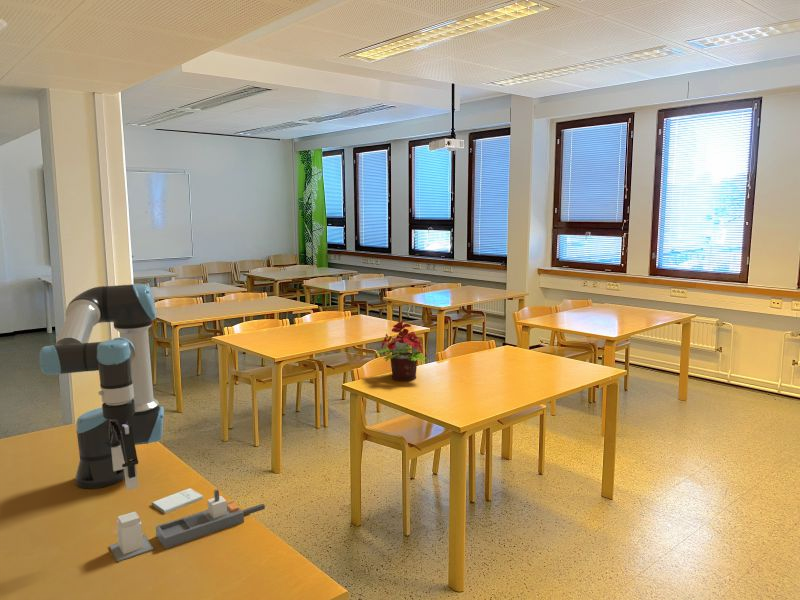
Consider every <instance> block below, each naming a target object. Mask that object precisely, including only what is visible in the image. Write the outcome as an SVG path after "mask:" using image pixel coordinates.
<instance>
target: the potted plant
mask: <svg viewBox="0 0 800 600" xmlns="http://www.w3.org/2000/svg"><path fill="white" fill-rule="evenodd" d="M392 327H393V328H392V329H391V332H393V333H398V334H397V335H396V336H395V338H393V337H392V336H391V335H390V336H389V335H388V333H387V332H386V334H385V337H384V339H383V341H381V348H382V350H377V351H376V352H374V353H373V355H375V356H376V355H379V356H381V355H382V354H383V355H385V354H386V353H387V355H386V356H385V357H384V359H383V360H385V362H387V361H388V360H389V359H390V366H391V379H392V380H393V381H395V382H411V381H415V380H416V379H417V366H418V362H419V363H420V362H422V363H423V364H427V363H426V361H425V360H426V359H428V358H427V357H425V355H424V354H423V344H422V342H421V340H420V339H419V337H418V336H417V335H416V334H415V332H414V331H410V332H409V329H408V328H410V327H412V325H411V324H410V323H404V321H398V322H397V323H396V324H393V326H392ZM392 338H393V339H392ZM397 342H398V343H400V344H403V345H404V346H403V348H398V347H397V345H396V343H397ZM385 344H386V348H384V345H385ZM383 348H384V349H383ZM394 349H395V350H394ZM416 349H417V350H418V351H419V352H418V351H415V350H416ZM393 351H394V352H393ZM420 351H421V352H420ZM391 353H393V354H391Z"/></svg>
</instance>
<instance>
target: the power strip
mask: <svg viewBox="0 0 800 600" xmlns="http://www.w3.org/2000/svg"><path fill="white" fill-rule="evenodd" d="M213 496H214V497H212V498H209V499H207V509H206V510H203V511H199V512H197V513H193V514H190V515H187V516H184V517H180V518H177V519H174V520H171V521H167V522H164V523H161V524H159V525H158V524H157V525H155V534H156V536H155V537H156V538H157V539H158V541H159V542H160V544H161V545H162V546H163V548H164V549H165V550H166V549H169V548H173V547H175V546H178V545H182V544H184V543H187V542H189V541H192V540H196V539H199V538H201V537H204V536H208V535H210V534H214V533H217V532H219V531H222V530H225V529H228V528H232V527H234V526H237V525H240V524H243V523H244V522H245V516H247V515H251V514H254V513H257V512H259V511H263V510H265V509H266V506H265V504H264V503H260V504H258V505H255V506H252V507H248V508H245V509H243V510H241V508H239V506H238V505H237V504H236V503H235V502H234V501H230V502H228V503H227V500H226V499H225V498H224V497H223V496H222V495H220V490H219V489H214V490H213Z"/></svg>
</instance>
